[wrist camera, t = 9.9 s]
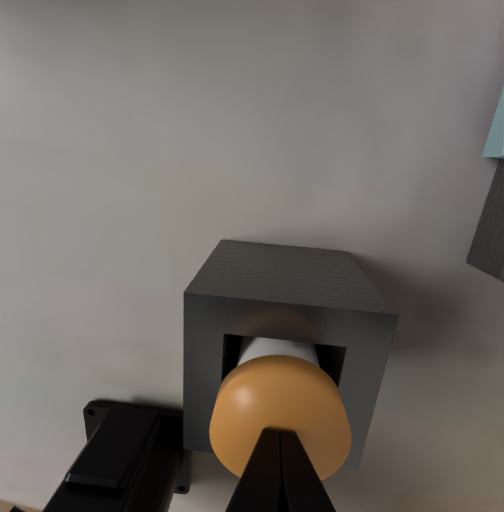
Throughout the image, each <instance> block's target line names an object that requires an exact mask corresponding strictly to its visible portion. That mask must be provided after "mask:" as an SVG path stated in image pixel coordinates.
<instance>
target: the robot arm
mask: <svg viewBox="0 0 504 512" xmlns="http://www.w3.org/2000/svg"><path fill="white" fill-rule="evenodd" d="M83 413H84V420H85V428H86V435H87V443H86V445H85V446H84V448H83V449H82V451H81V452H80V454H79V455H78V457H77V458H76V460H75V461H74V463H73V464H72V466H71V467H70V469H69V470H68V472H67V473H66V475H65V478H64V479H63V481H62V482H61V484H60V485H59V487H58V488H57V490H56V491H55V493H54V494H53V496H52V497H51V499H50V500H49V502H48V503H47V505H46V506H45V508H44V509H43V511H42V512H168V510H169V507H170V503H171V500H172V497H173V494H174V493H177V494H186V493H188V492H189V489H190V485H191V452H192V450H190V449H183V412H182V411H174V410H166V409H158V408H150V407H142V406H134V405H126V404H118V403H109V402H101V401H90V402H89V403H88V404H87V405H86V407H85V408H84V409H83ZM181 420H182V421H181ZM10 512H25V511H23V510H22V509H20V508H18V507H16V506H14V507H13V508H12V509H11V510H10ZM225 512H336V510H335V508H334V506H333V504H332V502H331V500H330V498H329V496H328V494H327V492H326V490H325V488H324V486H323V484H322V482H321V480H320V478H319V476H318V474H317V472H316V470H315V469H314V467H313V465H312V463H311V461H310V459H309V457H308V455H307V453H306V451H305V449H304V447H303V445H302V443H301V441H300V439H299V437H298V435H297V433H296V432H295V431H291V430H283V429H282V430H280V431H279V430H278V429H275V428H267V427H264V428H263V429H262V431H261V433H260V435H259V438H258V440H257V442H256V444H255V446H254V449H253V451H252V453H251V455H250V458H249V460H248V462H247V464H246V466H245V469H244V471H243V473H242V475H241V478H240V480H239V482H238V484H237V487H236V489H235V491H234V493H233V495H232V498H231V500H230V502H229V504H228V507H227V509H226V511H225Z"/></svg>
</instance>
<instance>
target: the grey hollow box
mask: <svg viewBox="0 0 504 512" xmlns="http://www.w3.org/2000/svg"><path fill="white" fill-rule="evenodd" d="M398 317H399V314H398V313H397V311H396V310H395V309H394V308H393V307H392V305H391V304H390V303H389V302H388V301H387V299H386V298H385V297H384V296H383V295H382V293H381V292H380V291H379V290H378V289H377V287H376V286H375V285H374V284H373V283H372V281H371V280H370V279H369V278H368V277H367V275H366V274H365V273H364V272H363V271H362V269H361V268H360V267H359V266H358V265H357V263H356V262H355V261H354V260H353V259H352V257H351V256H350V255H349V254H348V253H347V251H337V250H327V249H316V248H305V247H295V246H284V245H273V244H263V243H252V242H241V241H231V240H221V241H220V242H219V243H218V245H217V246H216V248H215V249H214V250H213V252H212V253H211V255H210V256H209V257H208V259H207V260H206V262H205V263H204V264H203V266H202V267H201V269H200V270H199V272H198V273H197V274H196V276H195V277H194V279H193V280H192V281H191V283H190V284H189V286H188V287H187V288H186V290H185V291H184V377H183V449H190V450H198V451H206V452H214V450H213V448H212V445H211V441H210V433H209V430H210V423H211V419H212V415H213V411H214V407H215V403H216V399H217V394H218V391H219V388H220V386H221V384H222V382H223V380H224V379H225V377H226V376H227V375H228V374H229V373H230V372H231V371H232V370H233V369H234V368H236V367H237V363H238V357H239V352H240V347H241V341H242V336H251V337H260V338H269V339H279V340H288V341H297V342H306V343H314V344H315V349H316V353H317V358H318V362H319V367H320V368H321V369H322V370H323V371H325V372H326V373H327V374H328V375H329V376H330V377H331V378H332V380H333V381H334V382H335V384H336V386H337V387H338V389H339V392H340V395H341V398H342V401H343V405H344V408H345V412H346V415H347V418H348V422H349V425H350V430H351V439H352V442H351V448H350V451H349V454H348V456H347V458H346V460H345V462H344V463H343V464H342V466H341V467H340V468H339V469H345V470H353V471H357V470H358V467H359V463H360V459H361V455H362V452H363V448H364V444H365V440H366V437H367V433H368V429H369V426H370V422H371V418H372V414H373V411H374V407H375V403H376V399H377V396H378V392H379V388H380V384H381V381H382V377H383V373H384V369H385V366H386V362H387V358H388V354H389V351H390V347H391V343H392V339H393V336H394V332H395V328H396V324H397V321H398ZM214 453H215V452H214Z"/></svg>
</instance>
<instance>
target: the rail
mask: <svg viewBox="0 0 504 512" xmlns="http://www.w3.org/2000/svg"><path fill="white" fill-rule="evenodd" d="M466 263H468V264H470V265H472V266H474V267H476V268H478V269H480V270H481V271H483V272H485V273H487V274H489V275H491V276H493V277H495V278H497V279H499V280H501V281H503V282H504V159H500V160H499V163H498V166H497V169H496V172H495V176H494V179H493V182H492V185H491V188H490V191H489V194H488V197H487V200H486V203H485V206H484V209H483V212H482V215H481V218H480V221H479V224H478V227H477V230H476V233H475V236H474V239H473V243H472V246H471V249H470V252H469V255H468V258H467V261H466Z"/></svg>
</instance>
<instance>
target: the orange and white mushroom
mask: <svg viewBox="0 0 504 512" xmlns="http://www.w3.org/2000/svg"><path fill="white" fill-rule="evenodd" d="M264 427H267V428H275V429H278V430H279V431H280V430H282V429H283V430H291V431H295V432H296V433H297V435H298V437H299V439H300V441H301V443H302V445H303V447H304V449H305V451H306V453H307V455H308V457H309V459H310V461H311V463H312V465H313V467H314V469H315V470H316V472H317V474H318V476H319V478H320V480H321V481H323V480H325V479H326V478H328V477H330V476H331V475H332V474H334V473H335V472H336V471H337V470H338V469H339V468H340V467H341V466H342V464H343V463H344V462H345V460H346V458H347V456H348V454H349V451H350V448H351V442H352V439H351V430H350V425H349V422H348V418H347V415H346V412H345V408H344V405H343V401H342V398H341V395H340V392H339V389H338V387H337V386H336V384H335V382H334V381H333V380H332V378H331V377H330V376H329V375H328V374H327V373H326V372H325V371H323V370H322V369H321V368H320V367H319V362H318V358H317V353H316V349H315V344H314V343H306V342H297V341H288V340H279V339H269V338H260V337H251V336H242V341H241V347H240V352H239V357H238V363H237V367H236V368H234V369H233V370H232V371H231V372H230V373H229V374H228V375H227V376H226V377H225V379H224V380H223V382H222V384H221V386H220V388H219V391H218V394H217V399H216V403H215V407H214V411H213V415H212V419H211V423H210V430H209V433H210V441H211V445H212V448H213V450H214V452H215V454H216V456H217V458H218V459H219V460H220V462H221V463H222V464H223V465H224V466H225V467H226V468H227V469H228V470H229V471H231V472H232V473H233V474H235V475H236V476H238V477H239V478H241V475H242V473H243V471H244V469H245V466H246V464H247V462H248V460H249V458H250V455H251V453H252V451H253V449H254V446H255V444H256V442H257V440H258V438H259V435H260V433H261V431H262V429H263V428H264Z"/></svg>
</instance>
